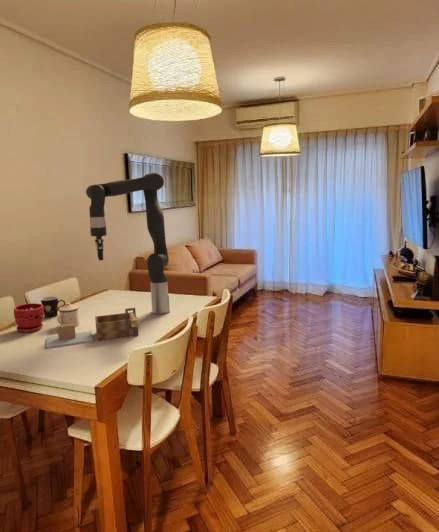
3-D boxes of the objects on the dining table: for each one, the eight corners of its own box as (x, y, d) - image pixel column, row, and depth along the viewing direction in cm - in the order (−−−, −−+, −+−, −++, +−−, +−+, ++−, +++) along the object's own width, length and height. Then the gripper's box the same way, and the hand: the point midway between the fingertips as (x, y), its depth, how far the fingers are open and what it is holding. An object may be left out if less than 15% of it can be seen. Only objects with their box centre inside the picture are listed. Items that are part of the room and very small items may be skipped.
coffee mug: (38, 317, 211) (37, 299, 209) (50, 313, 219) (49, 295, 217) (55, 319, 207) (54, 301, 205) (67, 314, 214) (65, 297, 213)
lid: (91, 333, 185) (90, 318, 183) (93, 343, 172) (91, 327, 171) (47, 339, 178) (46, 324, 177) (46, 349, 166) (44, 333, 165)
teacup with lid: (69, 321, 202) (67, 300, 200) (83, 323, 198) (81, 301, 196) (51, 329, 191) (49, 306, 189) (65, 331, 188) (63, 307, 186)
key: (134, 317, 174) (134, 311, 174) (138, 326, 162) (138, 319, 162) (128, 318, 173) (127, 312, 173) (131, 327, 161) (131, 320, 161)
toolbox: (134, 327, 190) (133, 301, 188) (138, 336, 178) (137, 308, 176) (96, 332, 184) (94, 305, 182) (97, 342, 172) (95, 312, 170)
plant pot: (18, 336, 182) (15, 311, 180) (14, 329, 193) (11, 305, 190) (48, 330, 190) (46, 306, 188) (42, 323, 200) (39, 301, 198)
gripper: (89, 225, 196) (92, 257, 199) (90, 227, 183) (93, 261, 185) (105, 225, 198) (107, 256, 201) (107, 226, 185) (109, 260, 188)
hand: (100, 258), depth 193 cm, fingers open, 8 cm apart
